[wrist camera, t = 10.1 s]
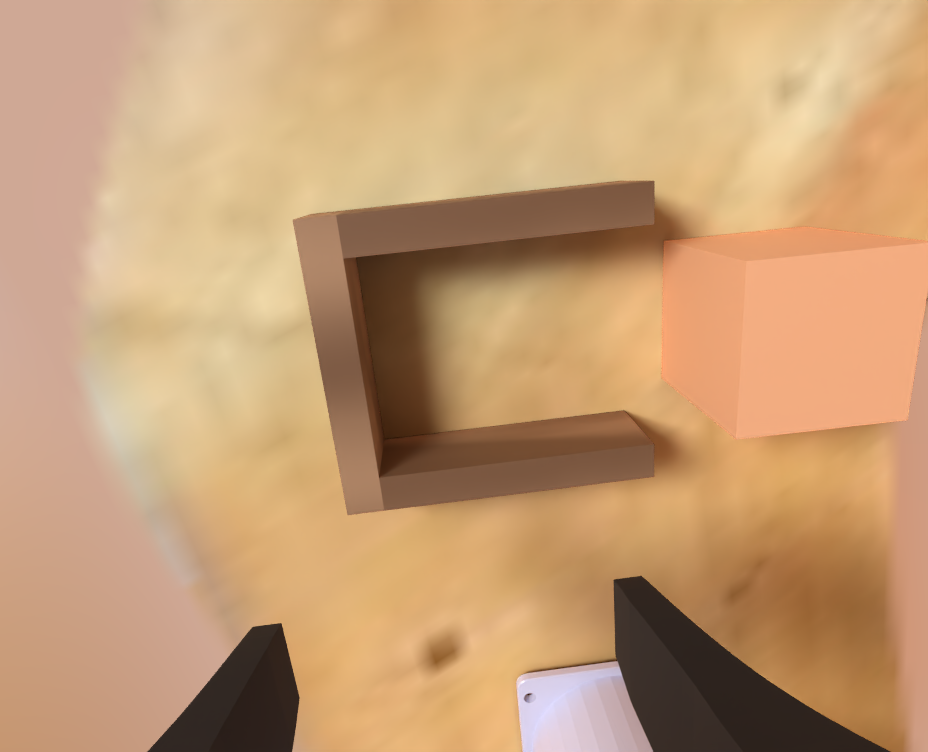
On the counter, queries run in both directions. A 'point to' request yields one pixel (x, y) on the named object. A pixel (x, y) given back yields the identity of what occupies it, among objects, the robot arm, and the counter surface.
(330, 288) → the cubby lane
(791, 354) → the tethered block
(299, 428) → the counter surface
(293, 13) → the counter surface
